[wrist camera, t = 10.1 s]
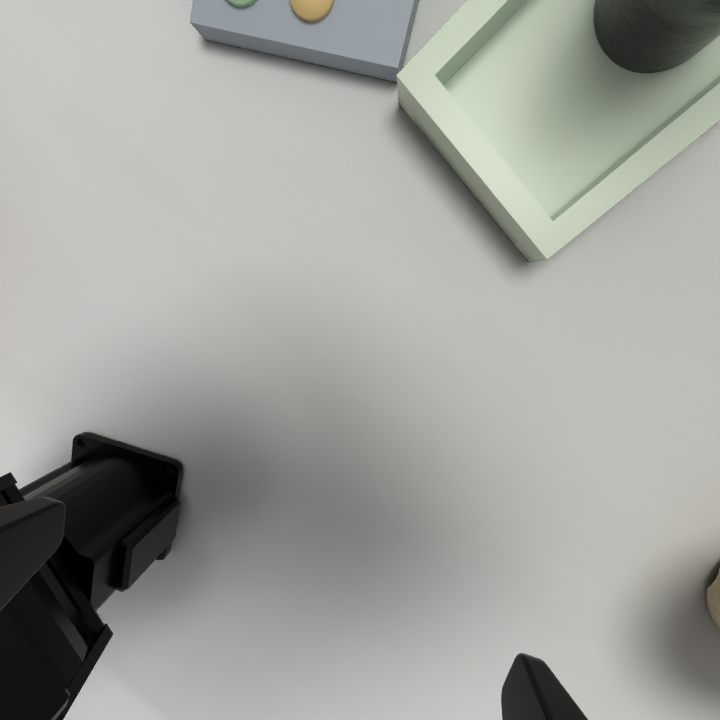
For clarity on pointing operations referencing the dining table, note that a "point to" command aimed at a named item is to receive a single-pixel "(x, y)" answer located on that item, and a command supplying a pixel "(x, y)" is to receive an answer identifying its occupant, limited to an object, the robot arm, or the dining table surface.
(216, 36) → the checker pad
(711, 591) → the flower pot
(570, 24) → the trough
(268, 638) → the dining table surface
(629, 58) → the cell
